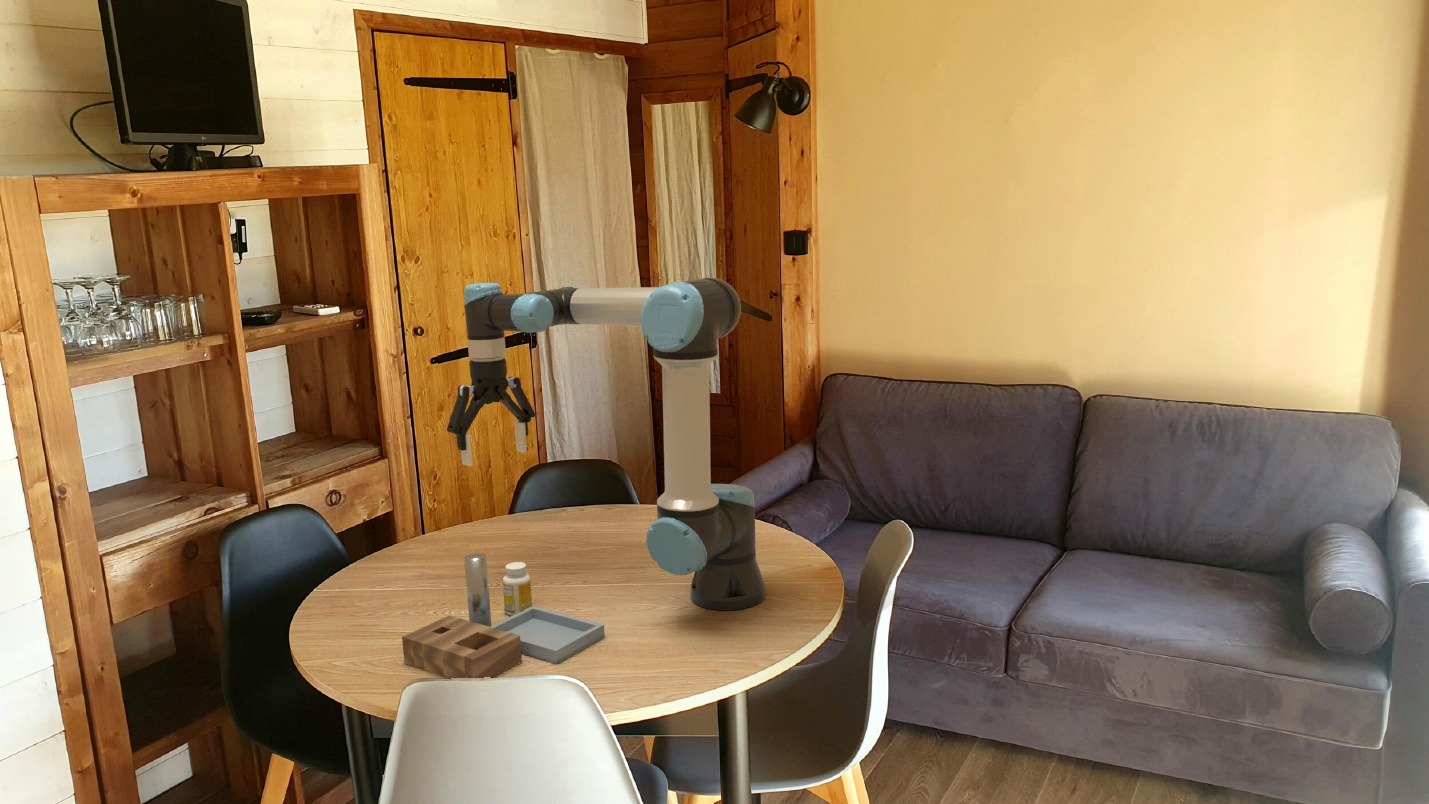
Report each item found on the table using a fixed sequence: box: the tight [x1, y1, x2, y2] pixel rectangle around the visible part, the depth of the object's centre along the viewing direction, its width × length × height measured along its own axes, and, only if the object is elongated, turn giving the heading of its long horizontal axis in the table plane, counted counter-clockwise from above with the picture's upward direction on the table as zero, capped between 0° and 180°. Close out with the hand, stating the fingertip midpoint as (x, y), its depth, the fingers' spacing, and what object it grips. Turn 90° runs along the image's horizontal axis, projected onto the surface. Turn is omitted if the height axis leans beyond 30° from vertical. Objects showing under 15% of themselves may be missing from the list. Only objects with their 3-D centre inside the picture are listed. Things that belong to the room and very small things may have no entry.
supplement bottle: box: [502, 561, 533, 617], centre depth 205 cm, size 5×5×10 cm
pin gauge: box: [463, 552, 493, 627], centre depth 195 cm, size 4×4×15 cm
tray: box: [490, 605, 606, 665], centre depth 192 cm, size 18×13×2 cm
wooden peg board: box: [401, 614, 523, 679], centre depth 183 cm, size 18×11×5 cm, turn 56°
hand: (495, 458), depth 218 cm, fingers open, 13 cm apart
